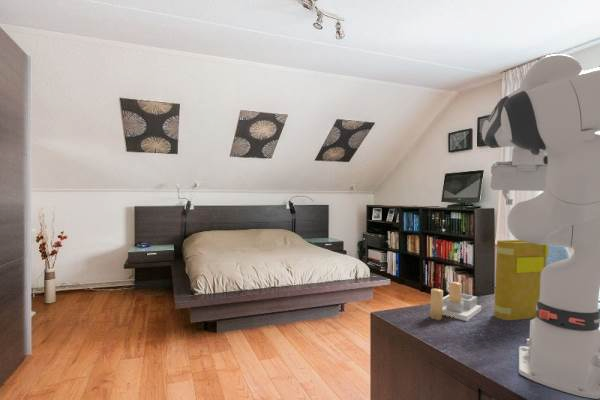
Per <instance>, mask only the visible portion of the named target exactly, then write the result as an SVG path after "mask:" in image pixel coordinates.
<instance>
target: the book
mask: <svg viewBox="0 0 600 400" xmlns="http://www.w3.org/2000/svg"><path fill="white" fill-rule="evenodd" d="M496 244H497V245H496V265H495V282H494V283H495V286H494V290H495V291H494V309H493V310H494V311H493V316H494V317H495V318H497V319H500V320H505V321H516V320H517V321H518V320H523V319H531V318H532V319H534V318H536V317H537V316H536V305H537V301H538V300H539V295H540V274H541V271H542V269H543V268H544V267H545V266H547V257H548V256H549V245H538V244H534V243H529V242H525V241H522V240H518V239H502V240H501V239H500V240H499V239H498V240H497V241H496Z"/></svg>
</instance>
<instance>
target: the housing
mask: <svg viewBox="0 0 600 400" xmlns="http://www.w3.org/2000/svg"><path fill="white" fill-rule="evenodd" d="M462 287H463V284H462V282H459V281H450V282H449V293H448V294H447V295H445V296H443V308H442V316H445V315H446V317H449V316H450V317H451V318H453V317H454V318H453V319H457V320H460V321H461V320H462V321H464V322H468V321H469V320H470V319H472V318H473V317H474V316H476V315H477V314H479V313H480V312H481V311H482V305H478V296H475V295H471V294H466V293H463V292H462V290H463V289H462ZM450 317H449V318H450Z"/></svg>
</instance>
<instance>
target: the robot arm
mask: <svg viewBox="0 0 600 400" xmlns="http://www.w3.org/2000/svg"><path fill="white" fill-rule="evenodd" d="M481 127H482V128H481V137H482V138H481V139H482V140H483V143H484V144H485V145H486V146H488V147H489V148H491V149H495V148H496V149H497V148H498V149H499V148H509V147H512V151H511V153H512V154H511V160H509V161H496V162H495V163H493V164H492V165H491V167H490V172H491V173H490V174H491V178H490V186H489V187H490V188H491V189H492V190H493V191H501V192H502V195H503V197H504V199H505V205H506V206H512V205H513V207H512V208H511V209H510V210H509V213H508V216H507V226H508V227H507V228H508V229H509V232H510V233H511V235H512V236H513V237H514V238H515V240H522V241H525V242H529V243H534V244H538V245H548V247H563V248H569V249H570V248H571V249H573V253H572V254H571V255H570V256H569V257H567V258H564V259H561V260H558V261H557V260H556V261H554V262H551V263H549V264H546V266H545V267H544V268H543V269H542V271H541V274H540V295H539V300H538V301H537V305H536V316H537V317H534V318H532V319H530V321H529V337H528V338H526V339H525V344H526V345H528V346H525V345H520V346H519V347H518V374H520V375H521V376H523V377H525V378H527V379H529V380H531V381H533V382H535V383H538V384H541V385H544V386H545V387H549V388H551V389H555V390H558V391H560V392H564V393H567V394H571V395H574V396H575V395H576V396H577V397H584V398H589V399H595V400H596V399H597V400H598V399H600V310H599V295H600V134H598V133H596V132H600V65H599V66H598V67H596V68H593V69H589V70H585V71H584V69H583V68H582V65H581V63H580V62H579V61H578V60H577V59H576V58H574V57H572V56H570V55H567V54H564V53H563V54H562V53H561V54H559V53H557V54H550V55H546V56H545V57H543V58H540V59H539V60H538V61H536V62H535V63H534V64H533V65H532V66H530V68H529V70H527V72H526V74H525V75H524V76H523V78H522V81H521V82H520V85H519V88H516V90H514V91H512V92H511V93H510V94H508V95H506V96H504V97H502V98H500V100H499V101H498V102H497V103H496V105H495V107H494V109H493V110H492V111H491V113H490V115H489V116H487V117H486V119H485V120H484V122H483V125H482V126H481ZM510 191H520V192H521V191H529V192H533V191H534V192H541V193H540V194H538V195H537V196H535V197H533V198H531V199H528V200H523V201H519V202H517V203H516V204H515V205H514V203H513V202H514V201H513V199H512V198H511V199H510V197H509V194H510Z"/></svg>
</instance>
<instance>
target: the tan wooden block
mask: <svg viewBox="0 0 600 400" xmlns="http://www.w3.org/2000/svg"><path fill="white" fill-rule="evenodd" d="M443 297H444V290H443V289H440V288H431V289H430V306H429V307H430V309H429V310H430V311H429V316H430V317H431V318H430V317H429V318H430V319H432V320H434V319H435V321H441V319H442V320H443V315H442V308H443Z"/></svg>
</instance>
